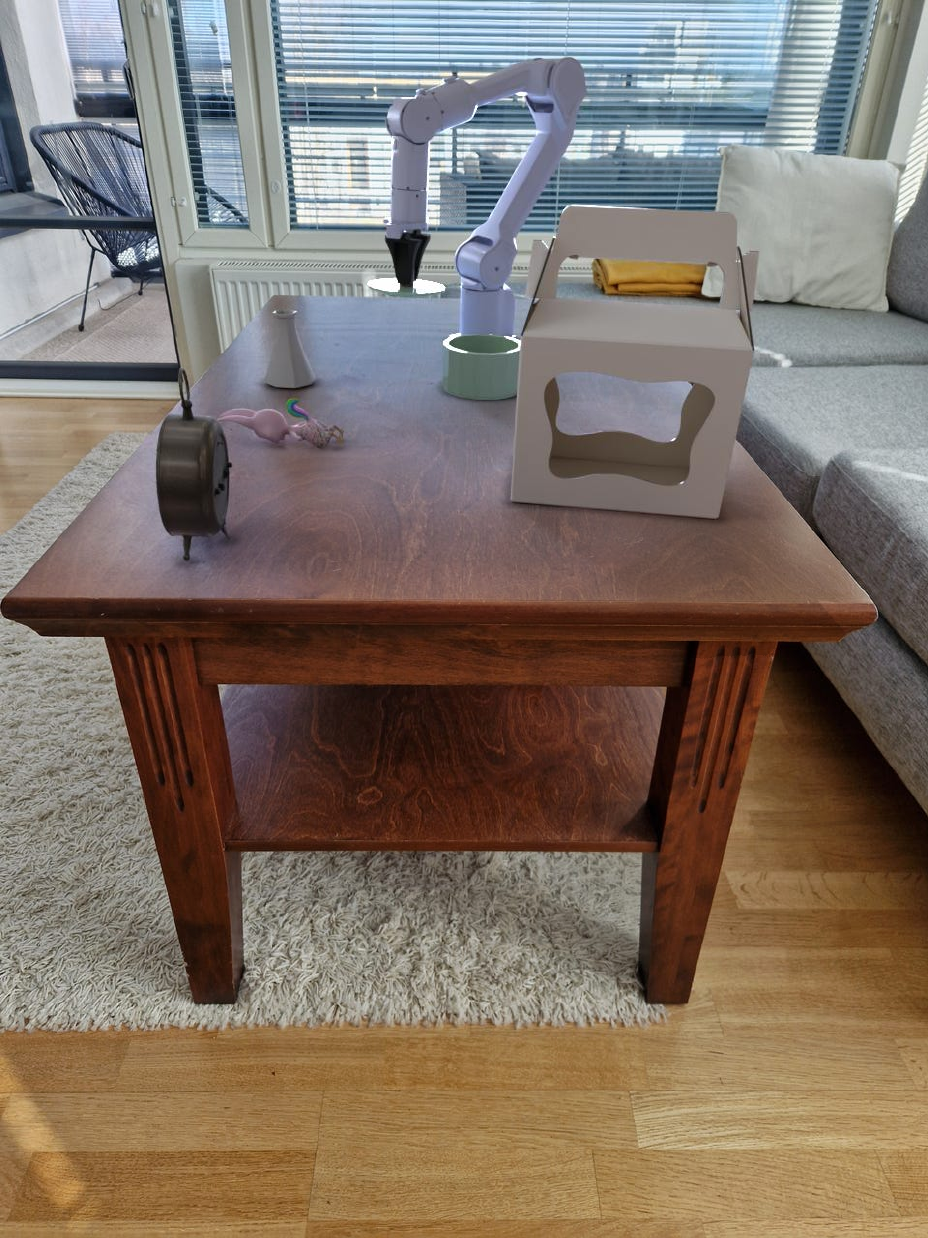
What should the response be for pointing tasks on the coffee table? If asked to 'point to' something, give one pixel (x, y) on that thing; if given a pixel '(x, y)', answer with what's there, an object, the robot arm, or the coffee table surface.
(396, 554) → the coffee table surface
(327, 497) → the coffee table surface
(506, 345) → the jar
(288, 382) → the flask
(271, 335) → the coffee table surface
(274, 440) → the rabbit figure
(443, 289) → the lid
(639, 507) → the gable box
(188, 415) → the alarm clock
